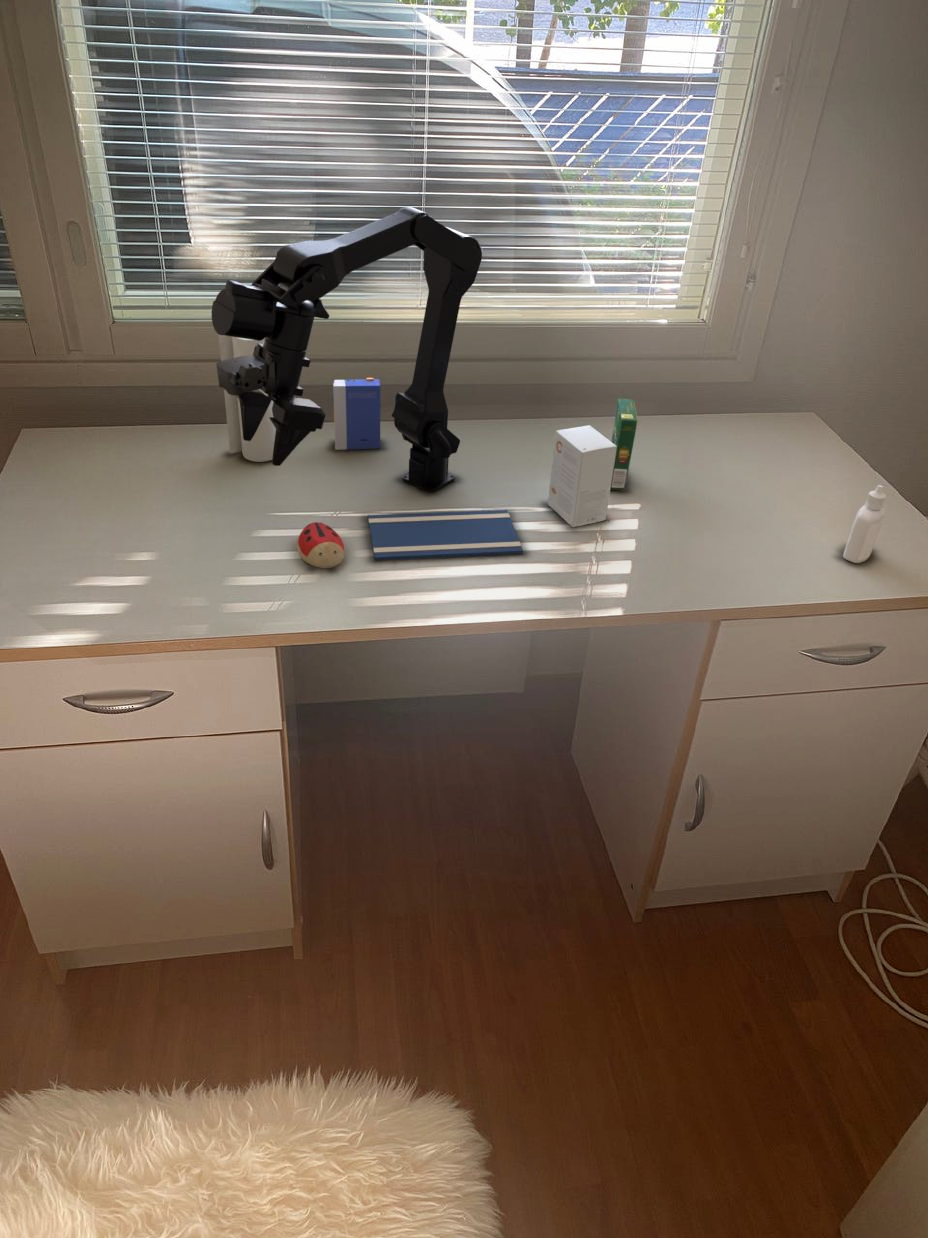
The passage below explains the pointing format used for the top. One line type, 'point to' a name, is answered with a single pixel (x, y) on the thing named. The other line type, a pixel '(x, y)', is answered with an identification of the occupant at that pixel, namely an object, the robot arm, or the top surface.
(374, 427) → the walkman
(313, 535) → the ladybug figurine
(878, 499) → the eye dropper bottle
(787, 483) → the top surface
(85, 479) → the top surface
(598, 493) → the small box
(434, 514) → the towel
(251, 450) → the paper towel roll
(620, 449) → the coffee box
